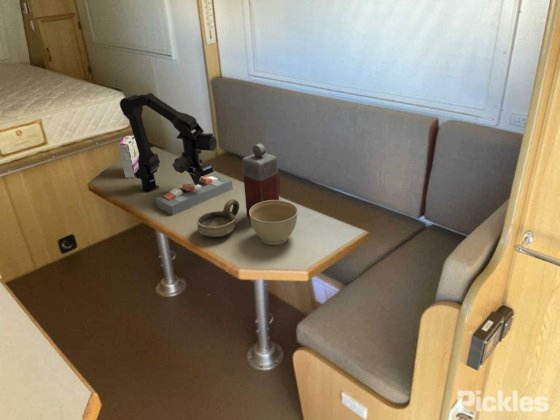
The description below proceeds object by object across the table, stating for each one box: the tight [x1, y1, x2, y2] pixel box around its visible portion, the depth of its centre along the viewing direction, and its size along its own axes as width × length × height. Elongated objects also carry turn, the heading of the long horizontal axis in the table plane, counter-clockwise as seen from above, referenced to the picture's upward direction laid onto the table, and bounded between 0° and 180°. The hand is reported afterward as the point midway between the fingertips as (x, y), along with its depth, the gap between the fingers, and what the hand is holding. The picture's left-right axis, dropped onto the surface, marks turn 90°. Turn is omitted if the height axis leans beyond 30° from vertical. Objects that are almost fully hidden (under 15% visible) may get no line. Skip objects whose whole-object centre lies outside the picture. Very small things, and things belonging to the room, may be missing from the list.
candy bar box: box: [117, 135, 139, 179], centre depth 214 cm, size 11×5×16 cm, turn 179°
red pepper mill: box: [241, 143, 282, 218], centre depth 171 cm, size 9×11×28 cm
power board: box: [155, 173, 233, 216], centre depth 192 cm, size 11×30×4 cm, turn 136°
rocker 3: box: [200, 176, 218, 184], centre depth 198 cm, size 4×6×2 cm, turn 136°
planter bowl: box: [249, 199, 299, 246], centre depth 160 cm, size 16×16×11 cm
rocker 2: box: [181, 183, 201, 191], centre depth 192 cm, size 4×6×2 cm, turn 136°
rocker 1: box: [163, 186, 183, 201], centre depth 187 cm, size 4×6×2 cm, turn 136°
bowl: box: [196, 198, 240, 238], centre depth 166 cm, size 14×18×10 cm
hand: (196, 184), depth 194 cm, fingers closed, pressing on rocker 2
